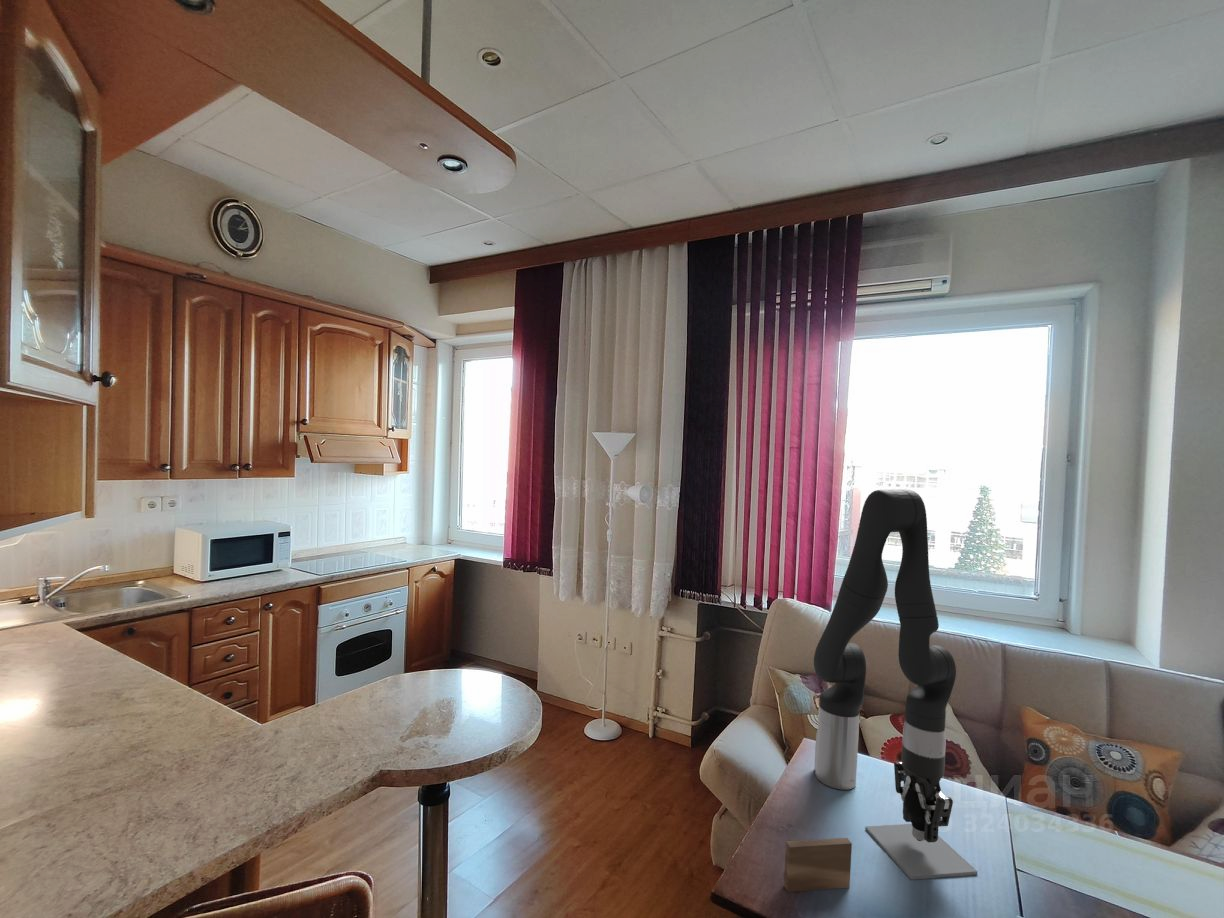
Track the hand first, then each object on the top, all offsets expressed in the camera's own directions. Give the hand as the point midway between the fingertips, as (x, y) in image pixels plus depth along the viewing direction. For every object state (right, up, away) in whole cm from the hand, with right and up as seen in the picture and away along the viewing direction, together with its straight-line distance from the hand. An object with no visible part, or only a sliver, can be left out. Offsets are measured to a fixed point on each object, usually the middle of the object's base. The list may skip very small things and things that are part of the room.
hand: (919, 830), depth 111 cm
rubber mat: (0, -4, 0) cm, 4 cm away
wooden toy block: (-25, -3, -11) cm, 27 cm away
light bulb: (0, -2, 0) cm, 2 cm away
